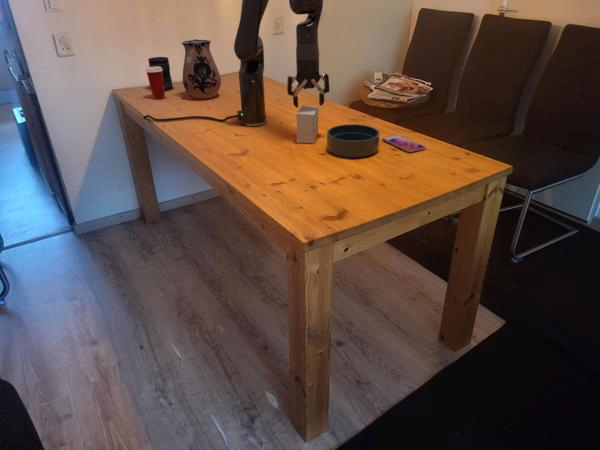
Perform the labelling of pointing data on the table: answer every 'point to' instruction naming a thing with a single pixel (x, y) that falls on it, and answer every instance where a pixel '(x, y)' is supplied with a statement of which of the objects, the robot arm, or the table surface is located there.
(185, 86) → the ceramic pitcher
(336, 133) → the bowl
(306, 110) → the cosmetics box
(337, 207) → the table surface
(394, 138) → the smartphone
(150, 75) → the paper cup
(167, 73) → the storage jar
